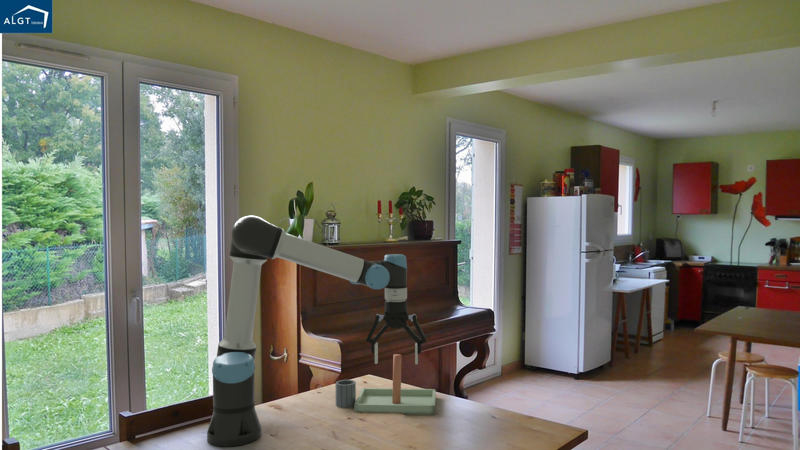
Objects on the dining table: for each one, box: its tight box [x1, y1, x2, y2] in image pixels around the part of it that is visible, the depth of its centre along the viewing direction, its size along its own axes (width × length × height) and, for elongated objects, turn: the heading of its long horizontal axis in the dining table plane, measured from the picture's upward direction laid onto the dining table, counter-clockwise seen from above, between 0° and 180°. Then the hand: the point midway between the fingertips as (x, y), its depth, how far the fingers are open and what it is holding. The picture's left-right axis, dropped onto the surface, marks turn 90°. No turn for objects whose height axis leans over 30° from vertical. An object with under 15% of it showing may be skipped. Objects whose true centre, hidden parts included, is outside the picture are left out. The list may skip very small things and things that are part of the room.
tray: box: [353, 387, 437, 416], centre depth 193 cm, size 26×18×3 cm
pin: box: [392, 353, 402, 404], centre depth 194 cm, size 6×3×16 cm, turn 86°
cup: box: [335, 379, 357, 409], centre depth 193 cm, size 7×7×8 cm
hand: (396, 363), depth 193 cm, fingers open, 13 cm apart
